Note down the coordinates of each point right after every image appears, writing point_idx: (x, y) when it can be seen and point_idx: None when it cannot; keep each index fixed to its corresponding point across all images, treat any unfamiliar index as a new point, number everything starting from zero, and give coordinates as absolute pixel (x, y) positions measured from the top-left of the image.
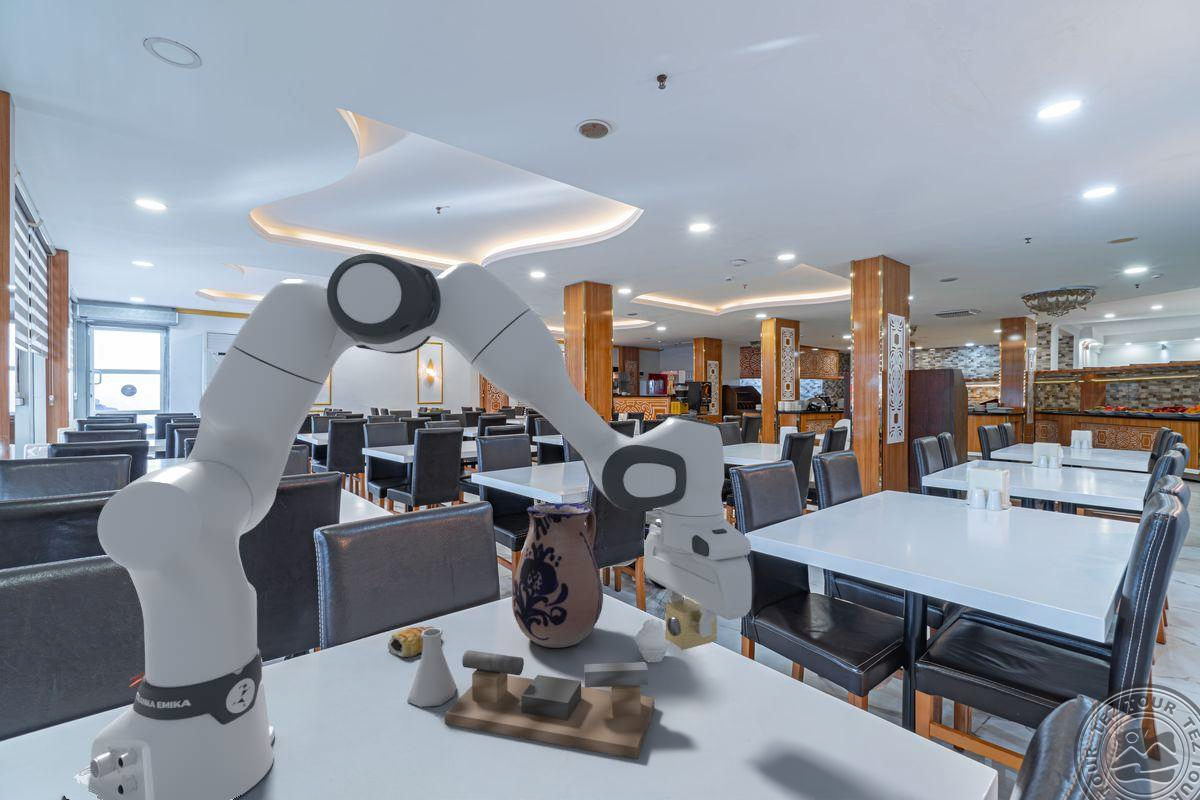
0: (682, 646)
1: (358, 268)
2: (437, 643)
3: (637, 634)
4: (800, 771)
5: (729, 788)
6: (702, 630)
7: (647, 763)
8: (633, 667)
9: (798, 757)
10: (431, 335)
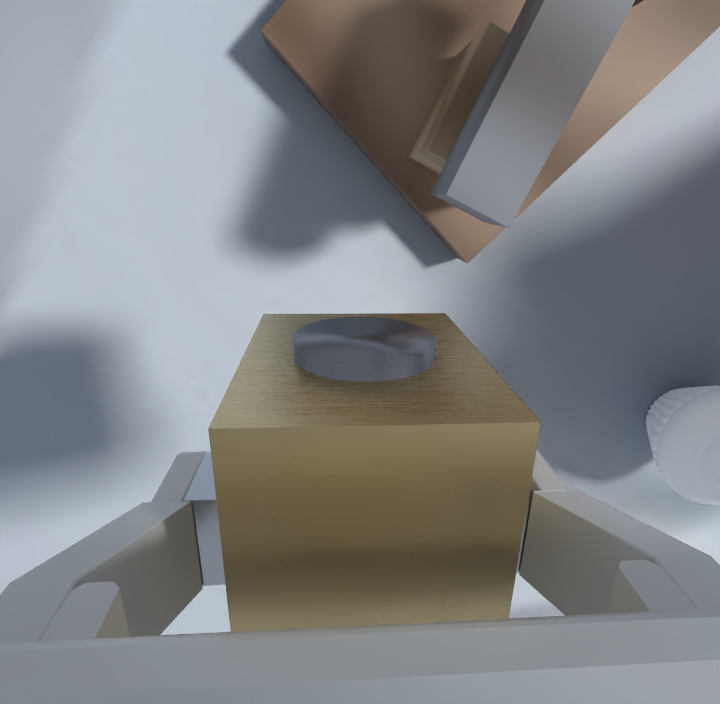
0: (263, 320)
1: None
2: None
3: None
4: (44, 419)
5: (47, 217)
6: (165, 479)
7: (234, 62)
8: (502, 140)
9: (92, 451)
10: None
